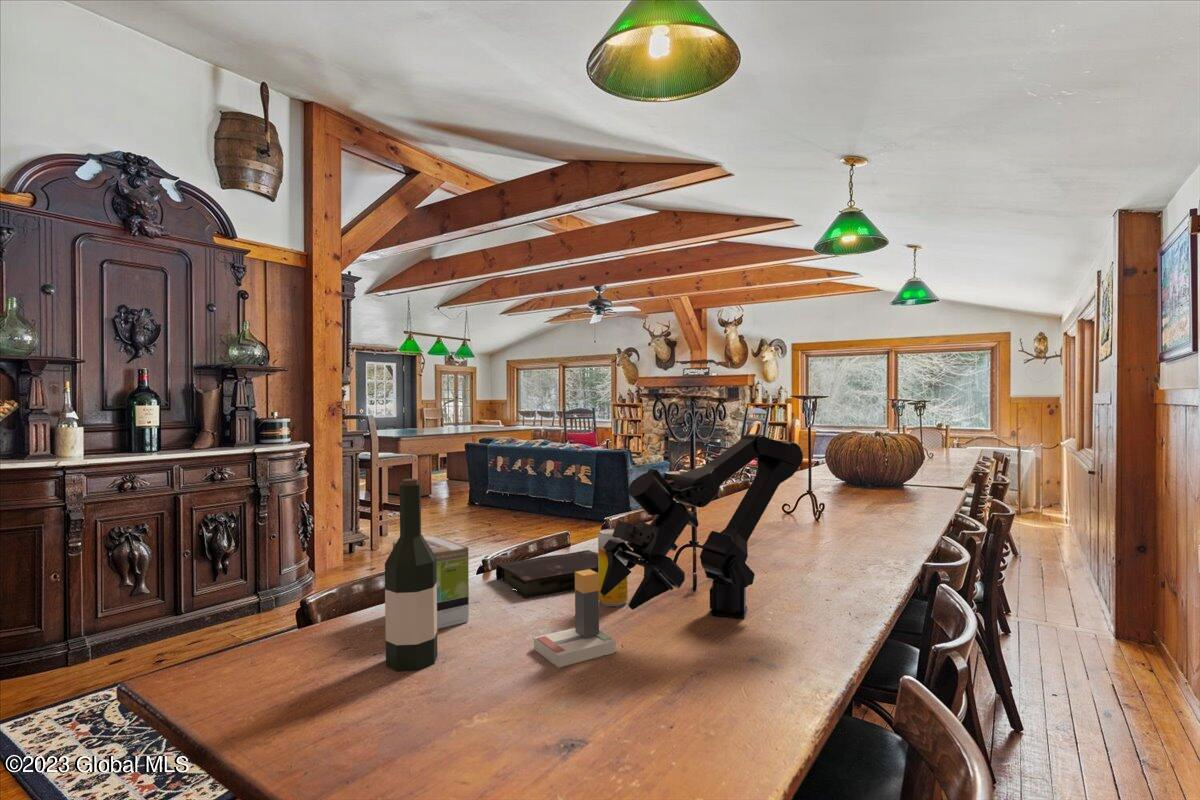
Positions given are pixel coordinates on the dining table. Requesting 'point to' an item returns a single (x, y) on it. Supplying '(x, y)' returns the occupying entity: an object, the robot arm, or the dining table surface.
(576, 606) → the lever
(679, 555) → the dining table surface
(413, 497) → the wine bottle
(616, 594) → the beer can
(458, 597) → the tea box
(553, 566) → the diary
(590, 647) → the plate
